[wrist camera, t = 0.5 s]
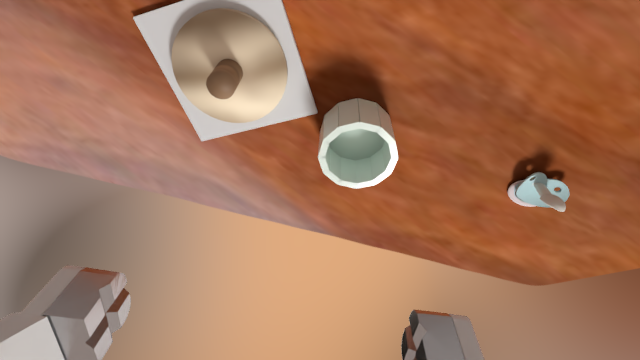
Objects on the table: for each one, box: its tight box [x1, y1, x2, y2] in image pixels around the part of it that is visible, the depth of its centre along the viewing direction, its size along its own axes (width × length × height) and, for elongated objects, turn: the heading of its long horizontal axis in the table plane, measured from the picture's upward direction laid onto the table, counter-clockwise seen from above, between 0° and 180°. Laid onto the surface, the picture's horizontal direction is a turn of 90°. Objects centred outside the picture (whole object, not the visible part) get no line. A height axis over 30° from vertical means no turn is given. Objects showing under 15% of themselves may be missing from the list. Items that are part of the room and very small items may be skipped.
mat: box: [133, 0, 318, 141], centre depth 42 cm, size 16×16×1 cm
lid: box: [171, 8, 288, 123], centre depth 40 cm, size 13×13×5 cm
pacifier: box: [508, 172, 569, 212], centre depth 49 cm, size 7×6×6 cm
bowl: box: [318, 98, 398, 189], centre depth 45 cm, size 9×9×6 cm
